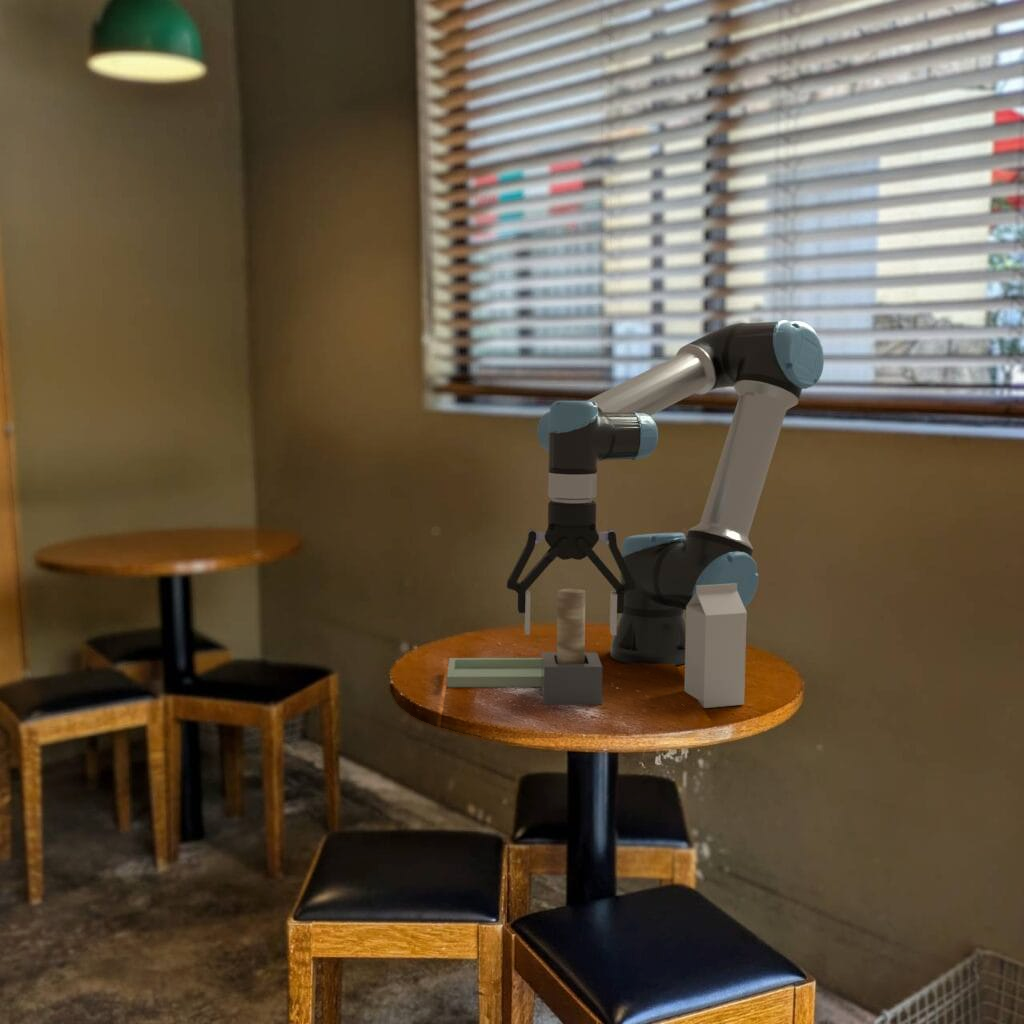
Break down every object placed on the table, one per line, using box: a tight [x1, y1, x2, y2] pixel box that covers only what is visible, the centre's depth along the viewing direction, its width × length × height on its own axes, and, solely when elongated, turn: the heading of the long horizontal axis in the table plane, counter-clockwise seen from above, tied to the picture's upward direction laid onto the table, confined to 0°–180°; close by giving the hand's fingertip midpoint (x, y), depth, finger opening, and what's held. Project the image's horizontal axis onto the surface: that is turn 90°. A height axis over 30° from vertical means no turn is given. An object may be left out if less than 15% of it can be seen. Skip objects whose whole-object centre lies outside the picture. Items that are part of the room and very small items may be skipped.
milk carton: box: [683, 583, 748, 709], centre depth 175 cm, size 7×7×19 cm
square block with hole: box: [541, 651, 603, 706], centre depth 175 cm, size 9×9×7 cm
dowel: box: [556, 588, 586, 664], centre depth 175 cm, size 4×4×17 cm
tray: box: [446, 657, 542, 688], centre depth 187 cm, size 18×12×3 cm, turn 91°
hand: (570, 633), depth 174 cm, fingers open, 13 cm apart
